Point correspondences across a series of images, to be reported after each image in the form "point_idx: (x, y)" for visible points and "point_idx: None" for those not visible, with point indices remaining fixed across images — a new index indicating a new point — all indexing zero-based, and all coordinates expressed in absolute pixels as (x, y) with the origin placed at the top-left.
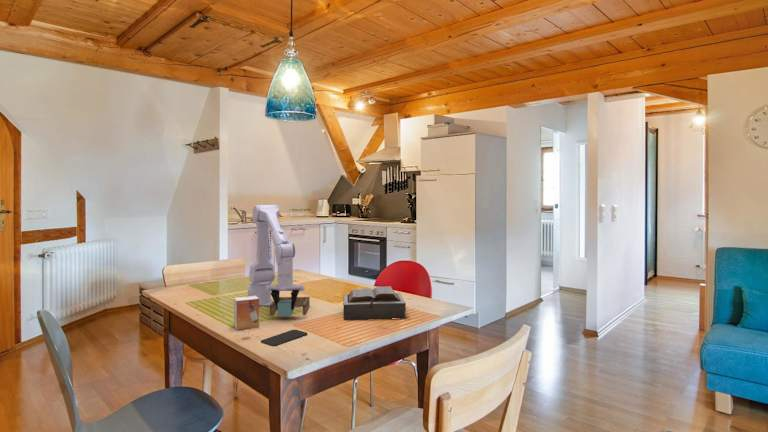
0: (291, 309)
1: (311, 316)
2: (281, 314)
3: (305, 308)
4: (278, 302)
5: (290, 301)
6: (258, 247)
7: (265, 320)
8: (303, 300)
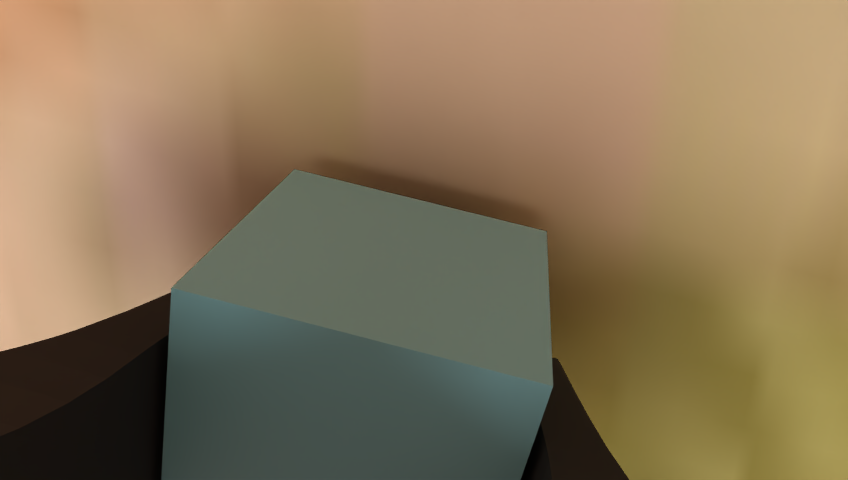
0: None
1: (10, 259)
2: (468, 227)
3: None
4: (517, 461)
5: (199, 458)
6: None
7: (763, 246)
8: None
